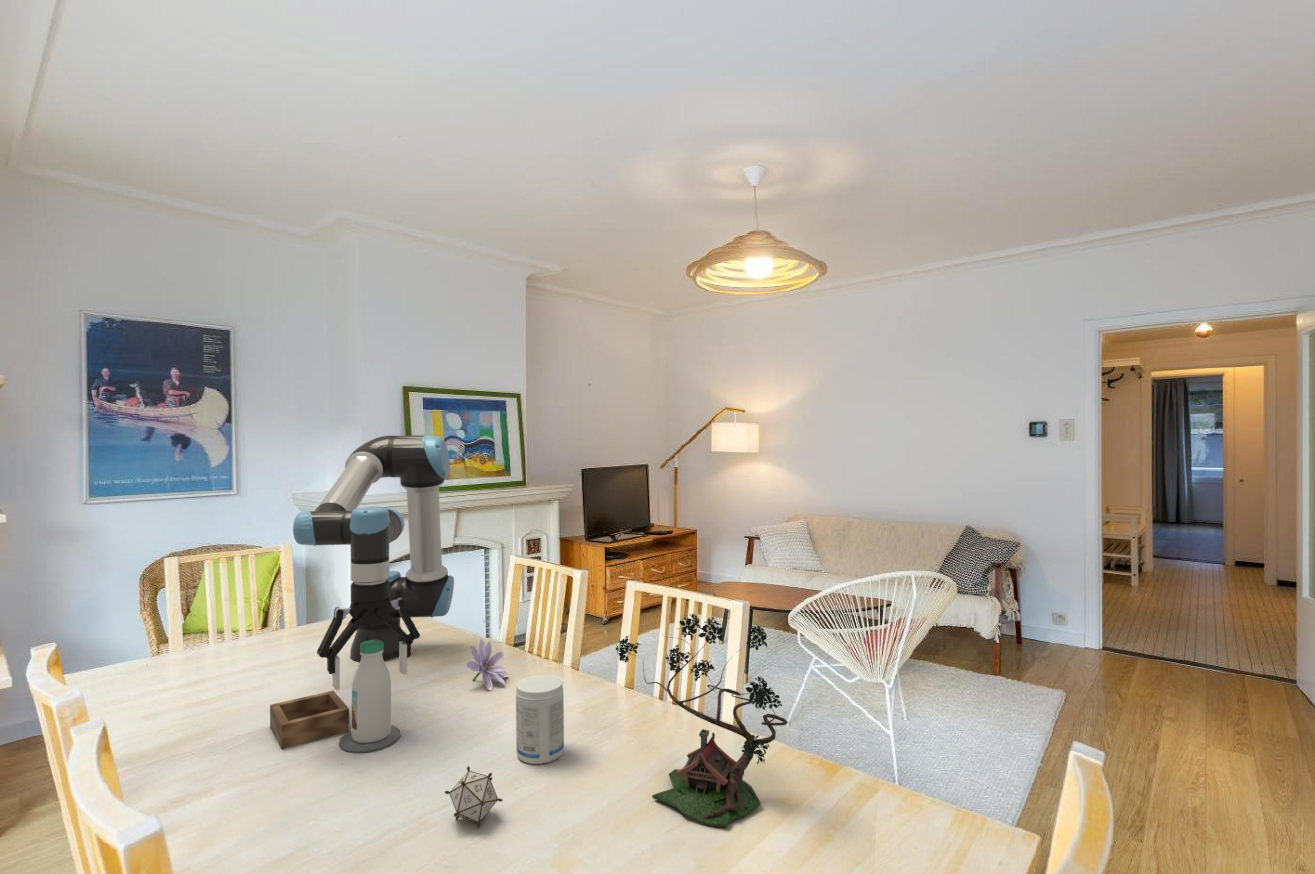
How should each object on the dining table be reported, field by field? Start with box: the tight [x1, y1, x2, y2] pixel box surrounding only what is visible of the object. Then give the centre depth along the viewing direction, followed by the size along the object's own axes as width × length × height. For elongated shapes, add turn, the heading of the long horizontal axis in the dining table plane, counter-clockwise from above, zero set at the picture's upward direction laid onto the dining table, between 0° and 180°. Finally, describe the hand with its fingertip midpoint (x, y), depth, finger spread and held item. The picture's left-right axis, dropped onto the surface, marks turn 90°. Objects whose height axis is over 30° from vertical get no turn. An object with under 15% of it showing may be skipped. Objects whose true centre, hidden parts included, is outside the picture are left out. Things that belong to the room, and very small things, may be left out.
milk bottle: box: [351, 640, 392, 743], centre depth 143 cm, size 8×8×20 cm
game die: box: [444, 765, 504, 829], centre depth 114 cm, size 9×8×10 cm
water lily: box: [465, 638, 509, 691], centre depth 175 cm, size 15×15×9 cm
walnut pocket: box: [269, 690, 350, 750], centre depth 148 cm, size 13×13×5 cm
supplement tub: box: [515, 674, 565, 765], centre depth 137 cm, size 10×10×15 cm
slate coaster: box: [338, 724, 401, 754], centre depth 143 cm, size 12×12×1 cm
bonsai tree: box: [615, 613, 789, 828], centre depth 126 cm, size 35×24×32 cm
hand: (370, 680), depth 143 cm, fingers open, 13 cm apart
